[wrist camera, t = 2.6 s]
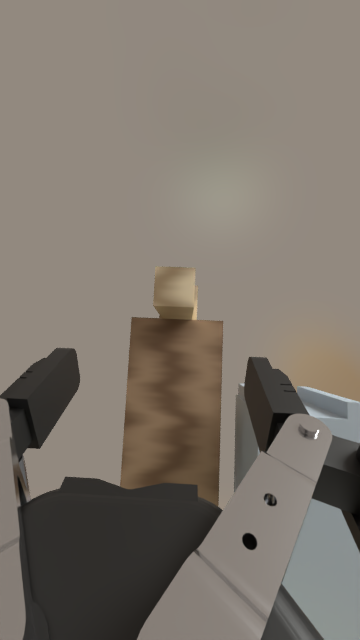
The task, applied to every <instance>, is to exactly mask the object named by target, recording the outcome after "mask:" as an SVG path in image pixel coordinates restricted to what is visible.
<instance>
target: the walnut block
mask: <svg viewBox="0 0 360 640" xmlns="http://www.w3.org/2000/svg"><path fill="white" fill-rule="evenodd" d="M222 343H223V321H208V320H184V319H161V318H137V317H132V322H131V336H130V350H129V365H128V379H127V394H126V410H125V423H124V439H123V453H122V467H121V482H120V487H122V488H125V489H135V488H140V487H146V486H151V485H156V484H161V483H177V484H193V485H198V497H201V498H204V499H206V500H208V501H210V502H212V503H213V504H215V505H216V506H218V501H219V500H218V499H219V497H218V496H219V460H220V458H219V457H220V423H221V422H220V421H221V384H222Z"/></svg>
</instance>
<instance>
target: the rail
mask: <svg viewBox="0 0 360 640" xmlns="http://www.w3.org/2000/svg"><path fill="white" fill-rule="evenodd" d="M197 297H198V286H195V268H184V267H157V266H156V268H155V286H154V303H153V306H154V307H155V309H156V310H157V311H158V313H159V314H160V316H159V318H161V319H184V320H197Z"/></svg>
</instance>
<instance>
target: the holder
mask: <svg viewBox="0 0 360 640" xmlns="http://www.w3.org/2000/svg"><path fill="white" fill-rule="evenodd" d="M238 392H239V393H238V395H236V418H235V472H234V492H235V491H236V489H237V488H238V486H239V485H240V483H241V482H242V480H243V478H244V477H245V475H246V474H247V472H248V471H249V469H250V467H251V466H252V464H253V463H254V461H255V460H256V458H257V457H258V455H259V454H260V451H259V448H258V444H257V440H256V437H255V433H254V430H253V426H252V423H251V419H250V415H249V412H248V408H247V405H246V401H245V397H244V384H239V389H238ZM297 394H298V396H299V397H300V399H301V401H302V403H303V404H304V406H305V408H306V410H307V411H308V413H309V415H310V416H313V417H315V418H317V419H319V420H320V421H322V422H323V423H324V424H325V425H326V426H327V427H328V428H329V429H330V431H331V433H332V435H334V436H337V437H340V438H343V439H347V440H350V441H354V442H357V443H360V402H357V401H353V400H350V399H347V398H344V397H340V396H336V395H333V394H329V393H326V392H323V391H320V390H316V389H313V388H309V387H299V386H298V387H297ZM282 585H283V586H284V587H285V589H286V590H287V591H288V592H289V594H290V595H291V596H292V598H293V599H294V600H295V602H296V603H297V604H298V606H299V607H300V608H301V610H302V611H303V612H304V613H305V615H306V616H307V617H308V619H309V620H310V621H311V623H312V624H313V625H314V627H315V628H316V629H317V631H318V632H319V633H320V635H321V636H322V637H323V638H324V640H360V552H359V550H358V548H357V546H356V543H355V541H354V539H353V536H352V534H351V532H350V530H349V527H348V525H347V523H346V521H345V518H344V516H343V514H342V511H341V509H339V508H336V507H333V506H331V505H328V504H325V503H323V502H320V501H317V500H314V499H311V502H310V505H309V508H308V511H307V514H306V516H305V519H304V522H303V525H302V528H301V531H300V533H299V536H298V539H297V542H296V545H295V548H294V551H293V553H292V556H291V559H290V562H289V565H288V568H287V571H286V573H285V576H284V579H283V582H282Z"/></svg>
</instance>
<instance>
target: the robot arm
mask: <svg viewBox="0 0 360 640" xmlns="http://www.w3.org/2000/svg"><path fill="white" fill-rule="evenodd" d="M79 383H80V374H79V368H78V361H77V354H76V351H75V349H72V348H56V349H55V350H54V351H53V352H52V353H51V354H50V355H49V356H48V357H47V358H43V359H41V360H40V361H38V362H36V363H34V364H33V365H32V366H30V368H28V370H27V371H26V373H25V372H24V373H23V374H22V375H21V376H20V378H19V379H17V380H16V381H15V382H14V383H13V384H12V385H11V386H10V387H9V388H8V389H7V390H6V391H4V393H2V394H1V395H0V640H324V638H323V637H322V636H321V635H320V633H319V632H318V631H317V629H316V628H315V627H314V625H313V624H312V623H311V621H310V620H309V619H308V617H307V616H306V615H305V613H304V612H303V611H302V610H301V608H300V607H299V606H298V604H297V603H296V602H295V600H294V599H293V598H292V596H291V595H290V594H289V592H288V591H287V590H286V589H285V587H284V586H283V585H282V582H283V579H284V576H285V573H286V571H287V568H288V565H289V562H290V559H291V556H292V553H293V551H294V548H295V545H296V542H297V539H298V536H299V533H300V531H301V528H302V525H303V522H304V519H305V516H306V514H307V511H308V508H309V505H310V502H311V499H314V500H317V501H320V502H323V503H325V504H328V505H331V506H333V507H336V508H339V509H341V511H342V514H343V516H344V518H345V521H346V523H347V525H348V527H349V530H350V532H351V534H352V536H353V539H354V541H355V543H356V546H357V548H358V550H359V552H360V443H357V442H354V441H350V440H347V439H343V438H340V437H337V436H334V435H332V433H331V431H330V429H329V428H328V427H327V426H326V425H325V424H324V423H323V422H322V421H320V420H319V419H317V418H315V417H313V416H310V415H309V413H308V411H307V410H306V408H305V406H304V404H303V403H302V401H301V399H300V397H299V396H298V394H297V393H296V391H295V389H294V387H293V386H292V384H291V382H290V380H289V378H288V377H287V376H286V375H285V374H284V373H283V372H281V371H280V370H279V369H272V367H271V365H270V363H269V361H268V359H267V358H263V357H249V360H248V364H247V371H246V377H245V384H244V397H245V401H246V405H247V408H248V412H249V415H250V419H251V423H252V426H253V430H254V433H255V437H256V440H257V444H258V448H259V451H260V454H259V455H258V457H257V458H256V460H255V461H254V463H253V464H252V466H251V467H250V469H249V471H248V472H247V474H246V475H245V477H244V478H243V480H242V482H241V483H240V485H239V486H238V488H237V489H236V491H235V492H234V494H233V496H232V497H231V499H230V500H229V502H228V503H227V505H226V507H225V508H224V510H222V509H220V508H219V507H218V506H216V505H215V504H213V503H212V502H210V501H208V500H206V499H204V498H201V497H198V485H193V484H177V483H161V484H156V485H151V486H146V487H140V488H135V489H125V488H122V487H119V486H117V485H114V484H111V483H108V482H105V481H103V480H100V479H94V478H93V479H92V478H76V477H65V479H64V481H63V483H62V485H61V488H60V489H56V490H53V491H50V492H47V493H45V494H42V495H40V496H38V497H36V498H34V499H32V500H31V498H30V492H29V485H28V479H27V472H26V467H25V460H24V456H23V453H24V452H25V450H26V449H27V448H36V449H40V448H41V446H42V444H43V443H44V441H45V440H46V438H47V437H48V435H49V434H50V432H51V430H52V429H53V427H54V426H55V424H56V423H57V421H58V419H59V418H60V416H61V415H62V413H63V412H64V410H65V409H66V407H67V406H68V404H69V402H70V401H71V399H72V398H73V396H74V395H75V393H76V392H77V390H78V387H79Z"/></svg>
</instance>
